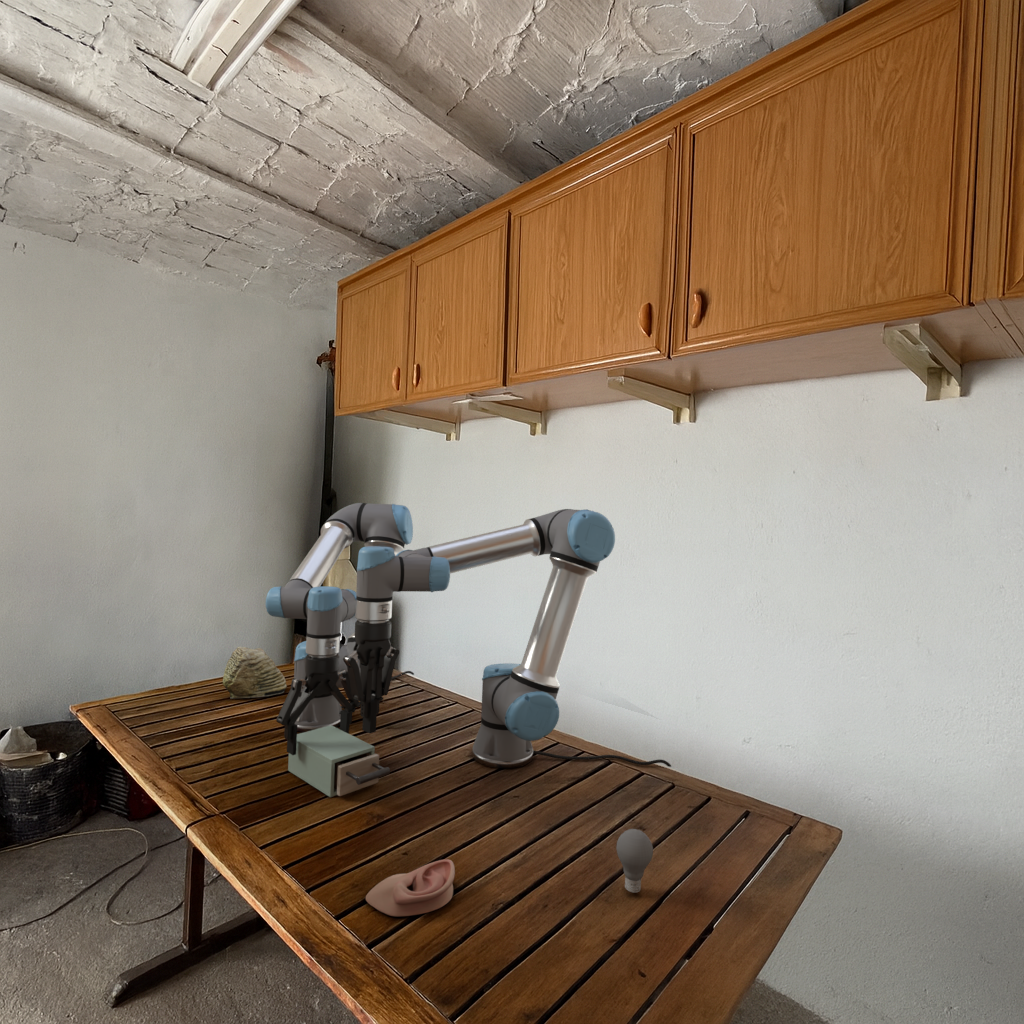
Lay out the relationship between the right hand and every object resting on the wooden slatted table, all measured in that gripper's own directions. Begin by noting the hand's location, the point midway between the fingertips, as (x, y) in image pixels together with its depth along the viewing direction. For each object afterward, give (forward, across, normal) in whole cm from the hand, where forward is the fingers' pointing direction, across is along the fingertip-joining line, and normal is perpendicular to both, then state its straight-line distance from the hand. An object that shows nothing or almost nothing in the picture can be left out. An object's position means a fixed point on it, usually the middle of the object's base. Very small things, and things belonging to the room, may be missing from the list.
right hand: (369, 730), depth 134 cm
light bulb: (+14, +13, -57) cm, 60 cm away
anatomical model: (+14, -14, -32) cm, 38 cm away
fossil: (+14, +14, +80) cm, 82 cm away
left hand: (+9, 0, +19) cm, 21 cm away
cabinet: (+14, 0, +14) cm, 20 cm away
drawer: (+13, 0, +8) cm, 16 cm away
